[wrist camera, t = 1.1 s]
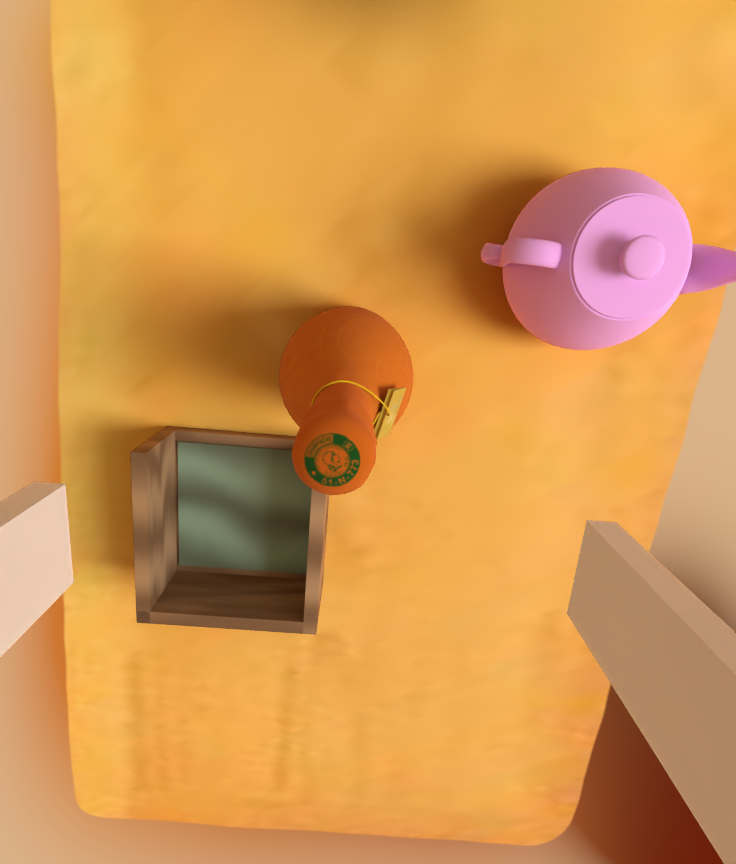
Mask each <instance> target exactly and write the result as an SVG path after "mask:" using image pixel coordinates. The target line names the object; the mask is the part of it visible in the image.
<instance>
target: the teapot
mask: <svg viewBox="0 0 736 864" xmlns="http://www.w3.org/2000/svg"><path fill="white" fill-rule="evenodd" d="M481 259H482V261H483V262H484V263H487V264H490V265H494V266H499V267H503V269H502V270H503V283H504V289H505V293H506V296H507V300H508V303H509V305H510V307H511V309H512V311H513V313H514V314H515V316H516V317H517V319H518V320H519V322H520V323H521V324H522V325H523V326H524V327H525V328H526V329H527V330H528V331H529V332H530V333H531V334H533V335H534V336H536V337H537V338H539V339H540V340H542V341H544V342H546V343H549V344H551V345H554V346H558V347H561V348H566V349H573V350H592V349H600V348H605V347H609V346H613V345H617V344H619V343H622V342H625V341H627V340H630V339H631V338H633V337H635V336H637V335H639V334H640V333H642V332H643V331H645V330H646V329H648V328H649V327H651V326H652V325H653V324H654V323H655V322H657V321H658V320H659V319H660V318H661V317H662V316H663V315H664V314H665V313H666V311H667V310H668V309H669V308H670V307H671V305H672V304H673V302H674V301H675V300H676V298H677V297H678V295H679V294H685V293H693V292H700V291H705V290H709V289H713V288H716V287H720V286H723V285H726V284H729V283H732V282H736V252H735V251H731V250H727V249H724V248H720V247H715V246H708V245H699V244H692V235H691V230H690V226H689V222H688V220H687V217H686V214H685V212H684V211H683V209H682V207H681V205H680V204H679V202H678V201H677V200H676V198H675V197H674V196H673V195H672V194H671V193H670V192H669V191H668V190H667V189H666V188H665V187H664V186H663V185H661V184H660V183H659V182H657V181H655V180H654V179H652V178H650V177H648V176H646V175H644V174H641V173H638V172H635V171H632V170H626V169H620V168H593V169H585V170H581V171H578V172H574V173H571V174H569V175H567V176H564V177H562V178H560V179H557V180H556V181H554V182H552V183H551V184H549V185H547V186H546V187H545V188H543V189H542V190H541V191H540V192H538V193H537V194H536V195H535V196H534V197H533V198H532V199H531V200H530V201H529V202H528V203H527V205H526V206H525V207H524V208H523V210H522V211H521V213H520V214H519V216H518V217H517V219H516V221H515V222H514V225H513V227H512V229H511V231H510V233H509V236H508V240H507V241H506V242H505V243H504V245H498V244H492V243H486V244H485V245H484V246H483V248H482V250H481Z"/></svg>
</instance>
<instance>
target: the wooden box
mask: <svg viewBox="0 0 736 864" xmlns="http://www.w3.org/2000/svg"><path fill="white" fill-rule="evenodd" d="M295 439H296V436H283V435H271V434H258V433H246V432H234V431H221V430H209V429H196V428H184V427H171V426H167V427H165V428H164V429H162V430H161V431H160V432H158V433H157V434H155V435H154V436H153V437H151V438H150V439H148V440H147V441H146V442H144V443H143V444H141V445H140V446H138V447H137V448H136V449H134V450H133V451H131V479H132V507H133V534H134V561H135V589H136V616H137V623H151V624H166V625H181V626H196V627H211V628H226V629H241V630H255V631H270V632H285V633H300V634H315V635H316V631H317V624H318V616H319V608H320V601H321V593H322V585H323V572H324V559H325V545H326V531H327V517H328V503H329V495H326V494H322V493H320V492H317V491H315V490H313V489H312V488H310V487H309V486H307V485H306V484H305V483H304V482H303V481H302V480H301V479H300V478H299V476H298V475H297V473H296V471H295V468H294V465H293V461H292V449H293V445H294V442H295Z"/></svg>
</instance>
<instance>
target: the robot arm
mask: <svg viewBox="0 0 736 864" xmlns="http://www.w3.org/2000/svg"><path fill="white" fill-rule="evenodd" d="M72 583H73V570H72V558H71V545H70V533H69V521H68V509H67V497H66V485H65V484H57V483H43V482H33V483H31V484H30V485H28V486H26V487H24V488H23V489H21V490H19V491H18V492H16V493H14V494H13V495H11V496H9V497H8V498H6V499H5V500H3V501H1V502H0V657H1V656H2V655H3V654H4V653H5V652H6V651H7V650H8V649H9V648H10V647H11V646H12V645H13V644H14V643H15V642H16V641H17V640H18V639H19V638H20V636H22V635H23V634H24V633H25V632H26V631H27V629H28V628H29V627H30V626H31V625H32V624H33V623H34V622H35V621H36V620H37V619H38V618H39V617H40V616H41V615H42V614H43V613H44V612H45V611H46V610H47V609H48V608H49V607H50V606H51V605H52V604H53V603H54V602H55V601H56V600H57V599H58V598H59V597H60V596H61V595H62V594H63V593H64V592H65V591H66V590H67V589H68V587H69V586H70V585H71V584H72ZM567 614H568V616H569V618H570V619H571V621H572V622H573V624H574V625H575V627H576V629H577V630H578V632H579V633H580V635H581V637H582V638H583V640H584V641H585V643H586V645H587V646H588V648H589V649H590V651H591V653H592V654H593V656H594V657H595V659H596V661H597V662H598V664H599V665H600V667H601V668H602V670H603V672H604V673H605V675H606V676H607V678H608V680H609V681H610V683H611V684H612V686H613V688H614V689H615V691H616V692H617V694H618V696H619V697H620V699H621V700H622V702H623V703H624V705H625V706H626V708H627V710H628V711H629V713H630V714H631V716H632V718H633V719H634V721H635V723H636V724H637V726H638V727H639V729H640V730H641V732H642V734H643V735H644V737H645V738H646V740H647V742H648V743H649V745H650V746H651V748H652V750H653V751H654V753H655V754H656V756H657V757H658V759H659V761H660V762H661V764H662V766H663V767H664V769H665V770H666V772H667V774H668V775H669V777H670V778H671V780H672V782H673V783H674V784H675V786H676V788H677V789H678V791H679V793H680V794H681V796H682V797H683V799H684V801H685V802H686V804H687V805H688V807H689V808H690V810H691V812H692V813H693V815H694V816H695V818H696V820H697V821H698V823H699V824H700V826H701V828H702V829H703V831H704V832H705V834H706V836H707V837H708V839H709V840H710V842H711V844H712V845H713V847H714V848H715V850H716V851H717V853H718V855H719V856H720V858H721V860H722V861H723V863H724V864H736V632H734V631H733V630H732V629H731V628H730V627H729V626H728V625H727V624H725V623H724V622H723V621H722V620H721V619H720V618H719V617H718V616H717V615H716V614H714V613H713V611H711V610H710V609H709V608H708V607H707V606H706V605H705V604H704V603H703V602H702V601H701V600H699V599H698V598H697V597H696V596H695V595H694V594H693V593H692V592H691V591H690V590H689V589H688V588H686V586H684V585H683V584H682V583H681V582H680V581H679V580H678V579H677V578H676V577H675V576H674V575H673V574H671V573H670V572H669V571H668V570H667V569H666V568H665V567H664V566H663V565H662V564H661V563H659V561H657V560H656V559H655V558H654V557H653V556H652V555H651V554H650V553H649V552H648V551H647V550H646V549H644V548H643V547H642V546H641V545H640V544H639V543H638V542H637V541H636V540H635V539H634V538H633V537H632V536H630V535H629V534H628V533H627V532H626V531H625V530H624V529H623V528H622V527H621V526H620V525H619V524H617V523H616V522H604V521H590V520H587V522H586V527H585V531H584V536H583V541H582V545H581V550H580V555H579V560H578V564H577V569H576V574H575V578H574V583H573V588H572V593H571V597H570V602H569V607H568V612H567Z"/></svg>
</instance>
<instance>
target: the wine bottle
mask: <svg viewBox="0 0 736 864" xmlns="http://www.w3.org/2000/svg"><path fill="white" fill-rule="evenodd" d="M279 385H280V391H281V395H282V399H283V402H284V404H285V407H286V408H287V410H288V412H289V414H290V415H291V417H292V418H293V420H294V421H295V422H296V423H297V425H298V426H299V427H300V430H299V432H298V433H297V436H296V439H295V442H294V445H293V449H292V461H293V465H294V468H295V471H296V473H297V475H298V476H299V478H300V479H301V480H302V481H303V482H304V483H305V484H306V485H307V486H309V487H310V488H312V489H313V490H315V491H317V492H320V493H322V494H326V495H339V494H345V493H348V492H351V491H354V490H356V489H357V488H359V487H361V486H362V484H363V483H364V482H365V481H366V479H367V478H368V476H369V474H370V472H371V470H372V468H373V466H374V464H375V460H376V445H377V440H379V439H381V438H382V437H384V436H386V435H388V434H390V432H391V429H392V427H393V426H394V425H395V423H396V422H397V421H398V420H399V419H400V417H401V416H402V414H403V413H404V411H405V409H406V407H407V405H408V402H409V399H410V396H411V392H412V386H413V368H412V362H411V358H410V355H409V352H408V349H407V347H406V345H405V343H404V341H403V340H402V338H401V337H400V335H399V334H398V332H397V331H396V330H395V329H394V328H393V327H392V326H391V325H390V324H389V323H388V322H387V321H386V320H385V319H383V318H382V317H380V316H379V315H377V314H376V313H374V312H372V311H369V310H367V309H363V308H359V307H351V306H347V307H337V308H333V309H330V310H327V311H324V312H322V313H320V314H318V315H316V316H314V317H313V318H311V319H309V320H308V321H307V322H306V323H304V324H303V325H302V326H301V327H300V328H299V329H298V330H297V331H296V332H295V334H294V335H293V336H292V338H291V339H290V341H289V343H288V344H287V346H286V348H285V351H284V353H283V356H282V359H281V364H280V371H279Z"/></svg>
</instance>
